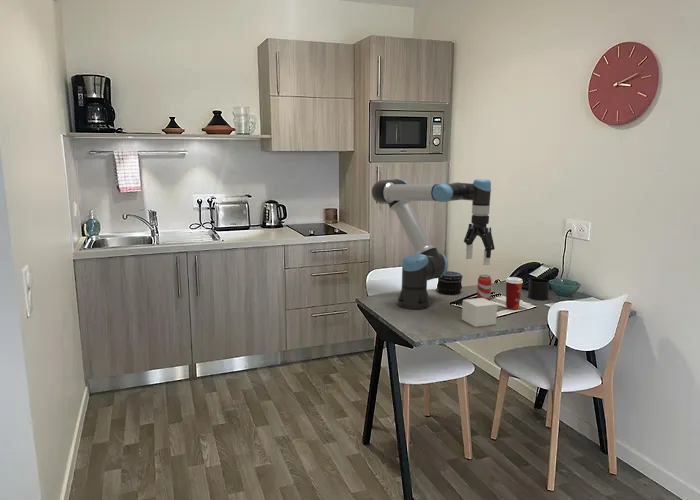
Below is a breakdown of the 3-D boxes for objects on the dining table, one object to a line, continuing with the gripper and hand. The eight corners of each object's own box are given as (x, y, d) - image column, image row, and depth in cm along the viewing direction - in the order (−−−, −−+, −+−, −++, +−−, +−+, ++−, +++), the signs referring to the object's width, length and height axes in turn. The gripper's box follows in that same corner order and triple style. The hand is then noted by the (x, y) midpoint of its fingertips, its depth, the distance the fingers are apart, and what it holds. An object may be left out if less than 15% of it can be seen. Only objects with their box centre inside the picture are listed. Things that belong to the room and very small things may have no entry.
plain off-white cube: (475, 326, 218) (476, 306, 216) (461, 319, 227) (462, 299, 226) (495, 324, 221) (497, 304, 220) (481, 317, 231) (483, 297, 229)
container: (457, 288, 278) (458, 270, 276) (464, 295, 266) (465, 276, 264) (434, 288, 277) (435, 270, 276) (440, 295, 265) (440, 276, 263)
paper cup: (521, 310, 241) (524, 281, 238) (504, 309, 242) (506, 280, 240) (519, 306, 248) (522, 277, 246) (503, 304, 250) (505, 276, 247)
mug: (554, 297, 263) (556, 280, 262) (540, 301, 257) (542, 283, 255) (538, 293, 271) (539, 276, 269) (524, 297, 264) (525, 279, 262)
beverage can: (484, 302, 254) (486, 278, 252) (474, 299, 259) (475, 275, 257) (492, 300, 257) (494, 276, 255) (482, 297, 263) (483, 273, 260)
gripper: (505, 217, 222) (501, 267, 226) (471, 211, 245) (469, 256, 249) (490, 218, 219) (486, 268, 223) (457, 211, 242) (455, 256, 246)
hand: (477, 261), depth 236 cm, fingers open, 13 cm apart
